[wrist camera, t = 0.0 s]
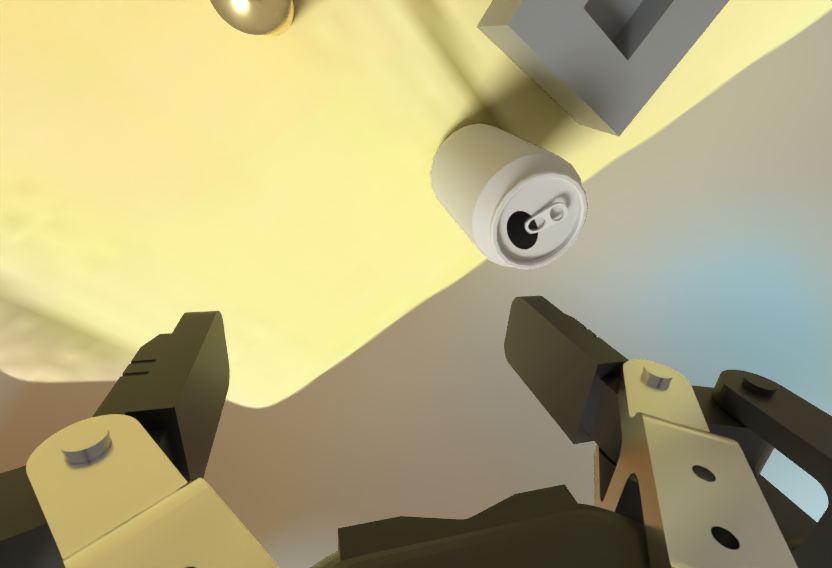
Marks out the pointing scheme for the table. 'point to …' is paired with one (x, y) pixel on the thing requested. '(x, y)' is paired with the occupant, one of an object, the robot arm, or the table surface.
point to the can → (509, 195)
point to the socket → (598, 49)
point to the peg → (257, 15)
